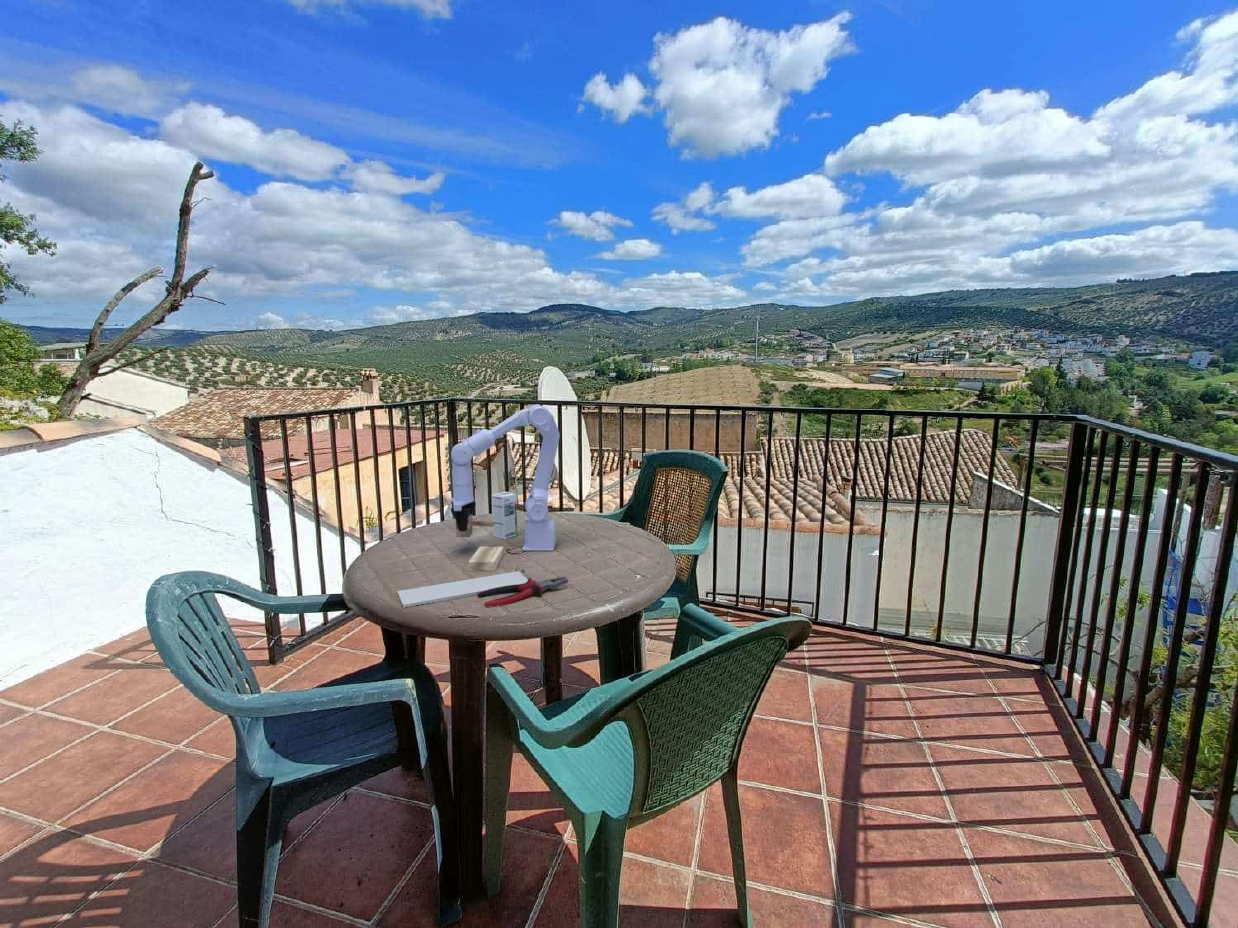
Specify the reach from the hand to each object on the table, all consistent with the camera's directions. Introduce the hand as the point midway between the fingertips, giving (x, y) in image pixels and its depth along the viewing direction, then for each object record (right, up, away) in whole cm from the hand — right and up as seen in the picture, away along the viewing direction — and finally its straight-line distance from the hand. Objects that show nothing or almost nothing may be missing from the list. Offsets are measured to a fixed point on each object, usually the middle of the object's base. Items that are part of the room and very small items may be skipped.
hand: (464, 528), depth 172 cm
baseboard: (+7, -13, -27) cm, 31 cm away
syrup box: (+9, -5, +18) cm, 21 cm away
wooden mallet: (+3, -2, 0) cm, 4 cm away
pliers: (+23, -13, -31) cm, 41 cm away
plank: (+9, -9, -8) cm, 15 cm away
